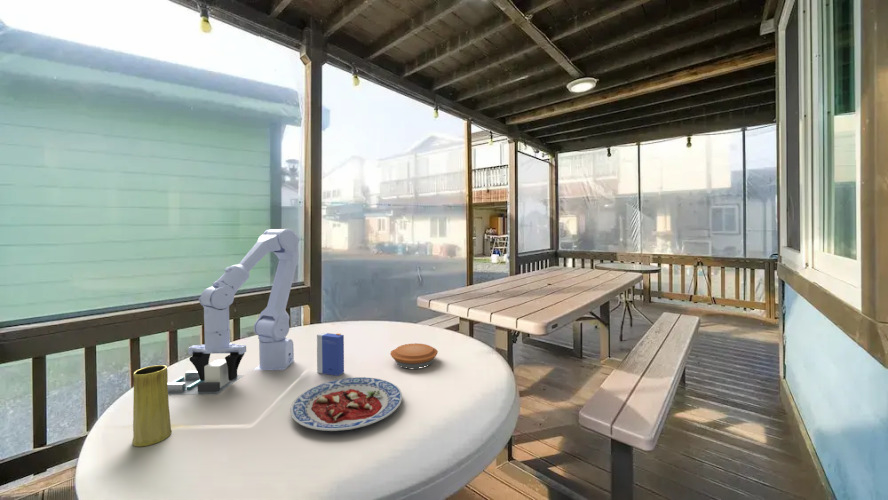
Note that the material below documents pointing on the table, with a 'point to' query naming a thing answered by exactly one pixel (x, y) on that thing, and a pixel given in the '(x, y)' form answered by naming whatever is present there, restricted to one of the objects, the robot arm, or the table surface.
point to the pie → (414, 355)
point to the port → (181, 387)
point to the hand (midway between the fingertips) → (218, 379)
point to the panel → (195, 390)
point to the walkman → (330, 353)
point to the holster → (209, 386)
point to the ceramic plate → (346, 404)
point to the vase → (151, 406)
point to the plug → (217, 372)
